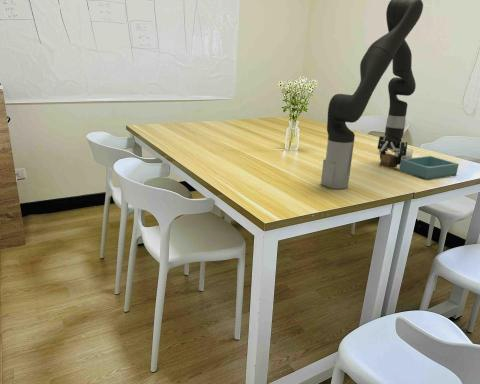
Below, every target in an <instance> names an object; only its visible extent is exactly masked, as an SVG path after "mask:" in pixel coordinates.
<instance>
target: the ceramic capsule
mask: <svg viewBox="0 0 480 384" xmlns="http://www.w3.org/2000/svg"><path fill="white" fill-rule="evenodd" d="M413 152H414V149H413V148H409V147H407V151H406V156H402V157H401V159H408V158H413Z"/></svg>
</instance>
